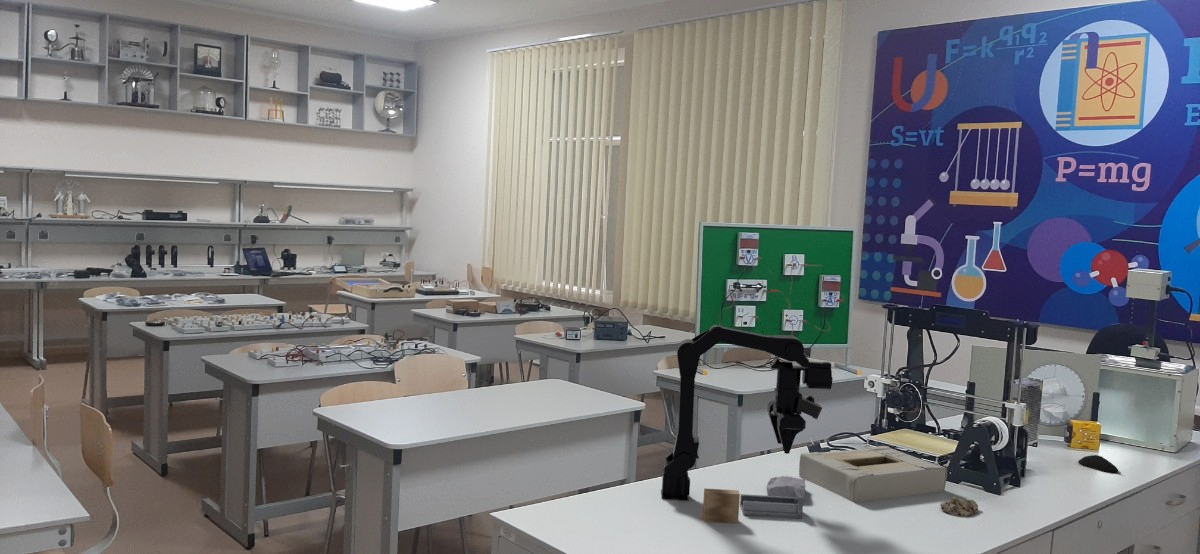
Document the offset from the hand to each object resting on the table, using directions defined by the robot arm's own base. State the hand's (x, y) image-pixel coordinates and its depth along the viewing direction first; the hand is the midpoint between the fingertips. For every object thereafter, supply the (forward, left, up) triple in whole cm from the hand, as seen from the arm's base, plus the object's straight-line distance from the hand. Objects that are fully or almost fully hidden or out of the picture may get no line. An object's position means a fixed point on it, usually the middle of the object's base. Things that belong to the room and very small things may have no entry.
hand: (783, 448), depth 218 cm
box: (+28, +22, -15) cm, 39 cm away
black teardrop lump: (+106, +50, -15) cm, 118 cm away
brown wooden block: (-16, -15, -14) cm, 26 cm away
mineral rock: (+46, +2, -15) cm, 48 cm away
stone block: (+3, +8, -15) cm, 17 cm away
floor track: (-3, -7, -14) cm, 16 cm away
